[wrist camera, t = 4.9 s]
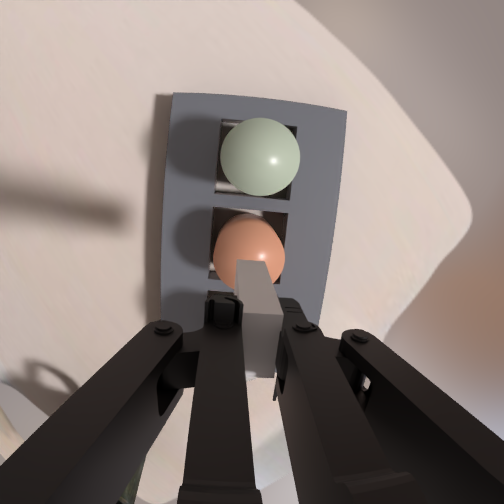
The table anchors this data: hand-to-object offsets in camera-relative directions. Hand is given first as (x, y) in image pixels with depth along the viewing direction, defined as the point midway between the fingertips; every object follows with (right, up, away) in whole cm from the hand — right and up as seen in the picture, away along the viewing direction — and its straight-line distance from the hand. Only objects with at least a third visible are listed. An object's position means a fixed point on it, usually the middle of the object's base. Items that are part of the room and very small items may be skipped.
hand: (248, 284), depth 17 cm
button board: (0, +3, +11) cm, 11 cm away
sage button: (0, +9, +7) cm, 11 cm away
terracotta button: (0, +3, +10) cm, 10 cm away
